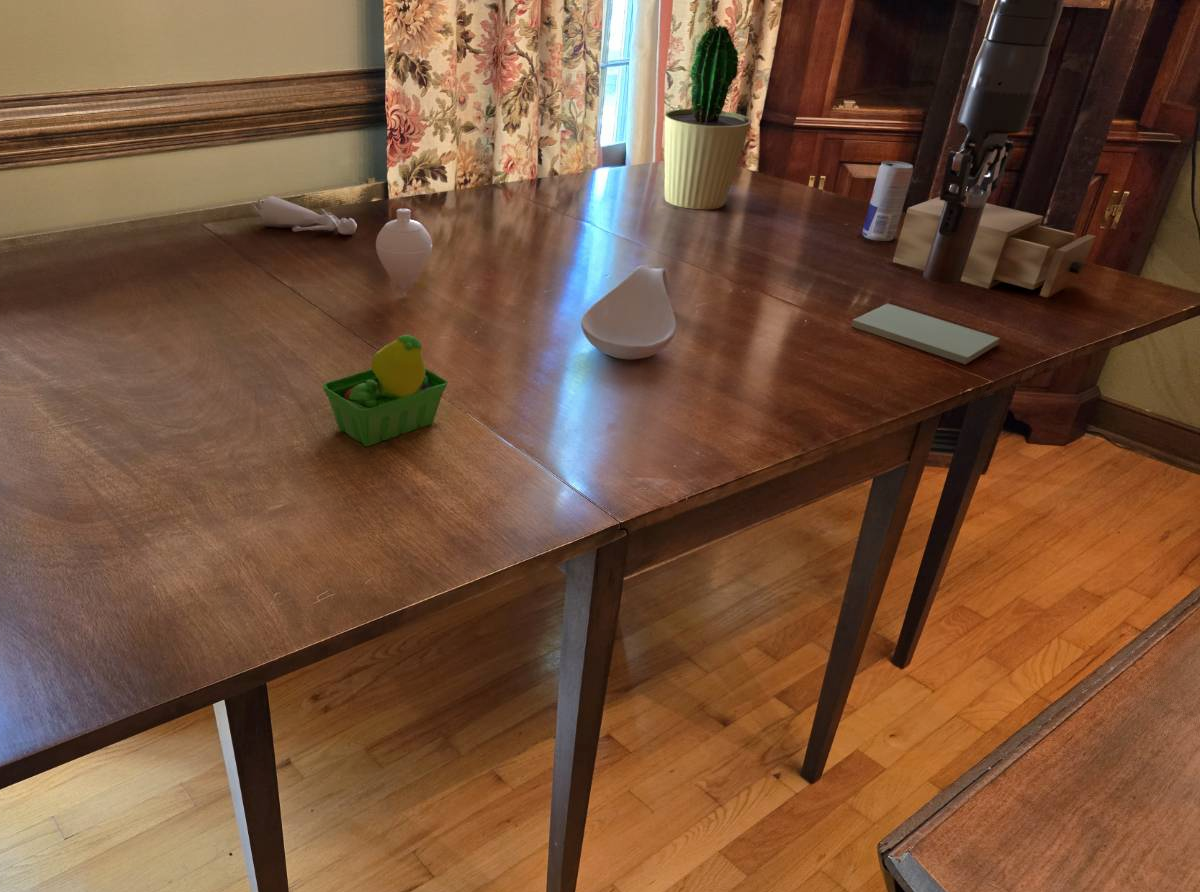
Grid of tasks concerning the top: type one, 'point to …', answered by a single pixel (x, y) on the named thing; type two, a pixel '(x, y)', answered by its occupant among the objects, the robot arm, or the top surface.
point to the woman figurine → (299, 217)
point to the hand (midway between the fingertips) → (956, 230)
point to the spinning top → (404, 249)
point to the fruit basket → (387, 394)
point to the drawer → (1043, 259)
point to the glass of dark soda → (955, 244)
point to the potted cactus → (705, 129)
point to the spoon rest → (632, 316)
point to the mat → (926, 333)
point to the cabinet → (985, 246)
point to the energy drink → (887, 200)
